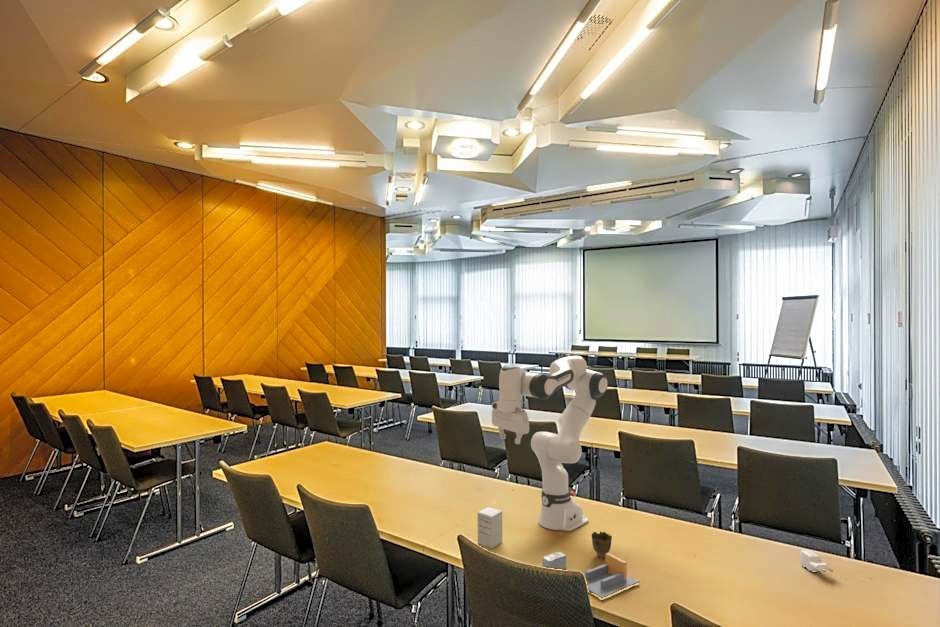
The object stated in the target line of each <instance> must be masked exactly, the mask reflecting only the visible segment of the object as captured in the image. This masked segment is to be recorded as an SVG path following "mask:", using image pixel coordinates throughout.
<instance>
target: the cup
mask: <svg viewBox="0 0 940 627" xmlns="http://www.w3.org/2000/svg"><path fill="white" fill-rule="evenodd" d="M612 538H613V536H612V535H611V534H609V533H607V532H606V531H603V532H602V531H599V533H597V531H593V532H592V533H591V543H592V548H593V550H594V552H596V556H597V557H598V558H600V557H602V558H601V559H605V558H606V553H610V550H611V548H612V546H611V545H612ZM604 557H605V558H604Z"/></svg>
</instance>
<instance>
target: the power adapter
mask: <svg viewBox="0 0 940 627" xmlns="http://www.w3.org/2000/svg"><path fill="white" fill-rule="evenodd" d="M801 565H803V566H804V567H806V568H807V569H809V570H811V571H819V570H821V571H822V572H824V573H827V570H828V571H830V573H833V572H834V570H833V569H832V568H830V566H829V565H828V564H827V563H826V562H823V561H822V558H821V556H820V555H818V554H817V553H815V552H814V551H812V550H810V549H808V550H806V549H804V550H801V551H800V566H801ZM804 567H803V568H804ZM807 569H806V570H807ZM809 570H808V571H809Z"/></svg>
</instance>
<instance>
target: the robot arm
mask: <svg viewBox="0 0 940 627" xmlns="http://www.w3.org/2000/svg"><path fill="white" fill-rule="evenodd" d="M498 377H499V378H498V379H499V380H498V382H499V383H498V388H499V396H498V401H495V402H492V403H491V409H492V410H491V423H492V426H494V427H497V428H498V432H499V434H500V435H499V437H500V438H499V439H501V440H506V438H507V434H506V433H505V430H506V431H509V432H512V433H515V435H516V437H515V438H514V445H515V444H516V445H520V444H521V439H522V437H523V435H527V434H529V432H530V421H529V417H528V412H527V411H526V410H525V409H522V396H523V397H524V396H525V397H530V398H535V399H537V400H542V401H545V400H547V399H550V398H551V396H552V395H553V394H554V393H555V392H556V391H558V390H560V389H562V388H563V387H565V389H567V390H570V391H574V392H575V395H574V397H572V400H570V401H569V403H568V404H567V406H566V407H565V408H564V410H563V412H562V413H561V415H560V416H559V418H558V423H559V424H558V425H559V427H560V431H559V432H558V433H554V432H549V431H536V432H535V433H534V434H533V435H532V438H531V440H530V447H531V450H532V451H533V453H535V455H536V457H537V459H538V462H539V466H540V468H541V469H540V470H541V476H542V477H541V478H542V489H541V507H540V508H541V509H540V513H539V519H538V524H539V525H540V526H541V527H543V528H546V529H547V530H548V529H549V530H554V531H565V532H566V531H567V532H570V531H573V530H575V529H578V528H579V527H581V526H583V525H585V524H588V523H589V519H588V518H587V517H586V516H585V515H584V513H583V509H582V507H581V505H579V504H578V503H577V502H576V501H574V499H572V498H574V497H575V496H576V492H575V491H572V490H569V473H568V472H567V470H566V469H565V468H564V466H563V464H576V463H577V462H578V461H579V460H580V458H581V456H582V454H583V453H582V450H583V449H582V446H581V443H580V435H581V433H582V431H583V429H584V427H585V425H586V424H587V422H588V421H589V420H590V417H591V416H592V414H593V412H594V409H595V406H596V403H597V400H599V399H600V398H601V397H602V396H603V395H604V394H605V393H606V392H607V390H608V387H609V380H608V377H607V375H605V374H603V373H602V372H599V371H595V370H592V369H588V365H587V361H586V360H585V358H584V357H583V356H581V355H567V356H564V357H561V358H558V359H555V360H554V361H552V362H551V364H550V366H549V374H548V373H537V372H531V371H530V372H529V371H526V370H524V369H522V367H521V366H520V365H518V364H507V365H503V366H502V367H501V369H500V371H499V376H498Z"/></svg>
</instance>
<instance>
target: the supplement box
mask: <svg viewBox="0 0 940 627" xmlns="http://www.w3.org/2000/svg"><path fill="white" fill-rule="evenodd" d="M502 543H503V510H500V509H496V508H493V507H490V506H487V507H486V508H484V509H481V510H479V511H477V544H478V545H481V546H483V547H487V548H489V549H493V548H495V547H497V546H499V545H501V544H502Z"/></svg>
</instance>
